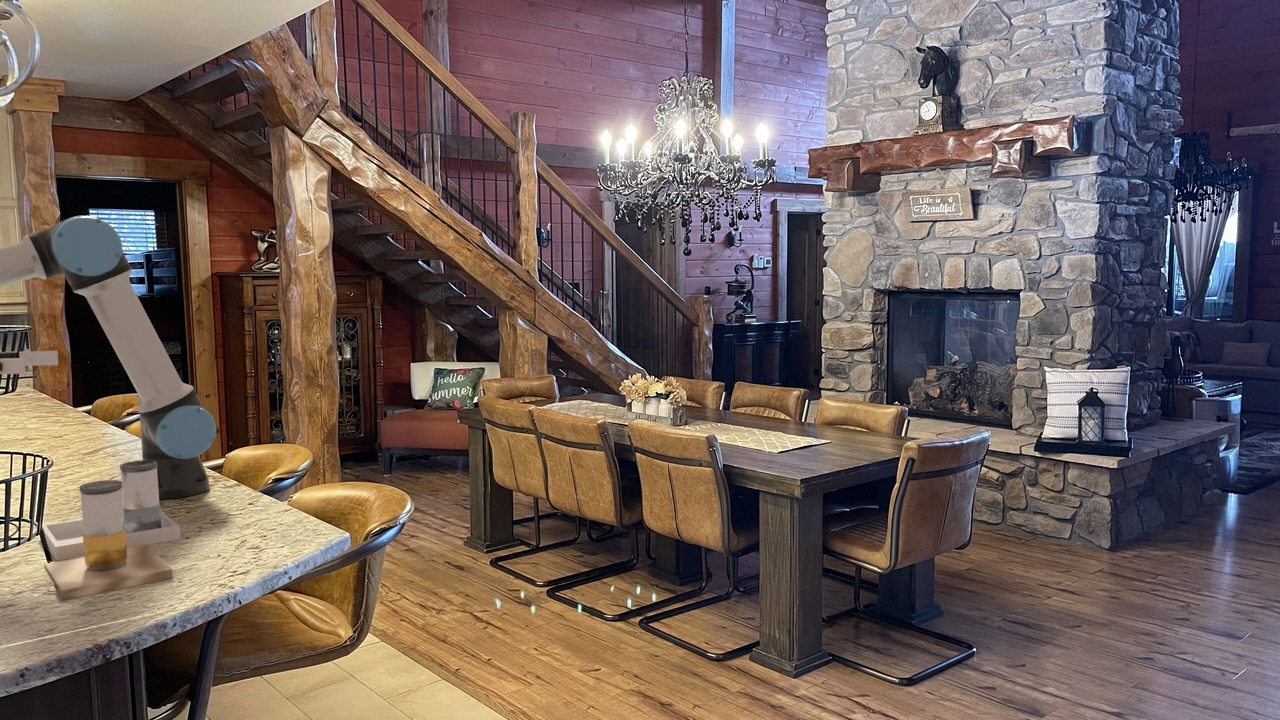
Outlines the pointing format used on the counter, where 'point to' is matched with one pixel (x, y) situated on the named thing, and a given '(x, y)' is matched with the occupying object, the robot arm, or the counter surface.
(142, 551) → the board
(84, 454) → the counter surface
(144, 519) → the clear grey lidded jar
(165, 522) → the white shaker tray
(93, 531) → the lidded honey jar
